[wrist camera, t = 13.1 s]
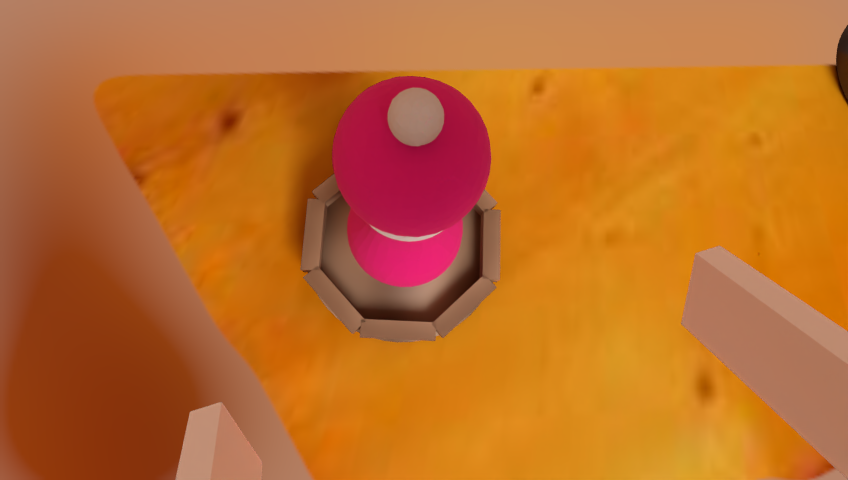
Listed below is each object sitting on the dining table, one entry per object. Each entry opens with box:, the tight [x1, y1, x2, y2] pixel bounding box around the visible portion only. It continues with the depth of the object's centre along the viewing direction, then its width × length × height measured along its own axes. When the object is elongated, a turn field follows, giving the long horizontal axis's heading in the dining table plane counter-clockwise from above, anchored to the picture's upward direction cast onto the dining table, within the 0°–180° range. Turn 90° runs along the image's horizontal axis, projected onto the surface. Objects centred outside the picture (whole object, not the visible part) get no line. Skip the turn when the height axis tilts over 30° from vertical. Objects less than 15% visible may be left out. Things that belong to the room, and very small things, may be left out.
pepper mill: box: [332, 76, 491, 287], centre depth 23 cm, size 7×7×20 cm
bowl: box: [301, 173, 500, 342], centre depth 33 cm, size 14×14×3 cm
